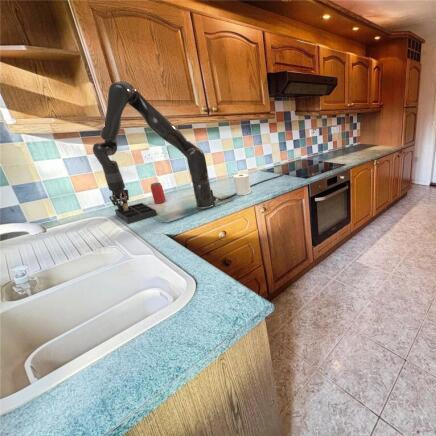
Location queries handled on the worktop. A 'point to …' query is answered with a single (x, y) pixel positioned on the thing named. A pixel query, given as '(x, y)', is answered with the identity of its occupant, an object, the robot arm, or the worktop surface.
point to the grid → (136, 213)
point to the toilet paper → (242, 184)
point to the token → (125, 207)
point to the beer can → (157, 193)
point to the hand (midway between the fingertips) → (124, 210)
